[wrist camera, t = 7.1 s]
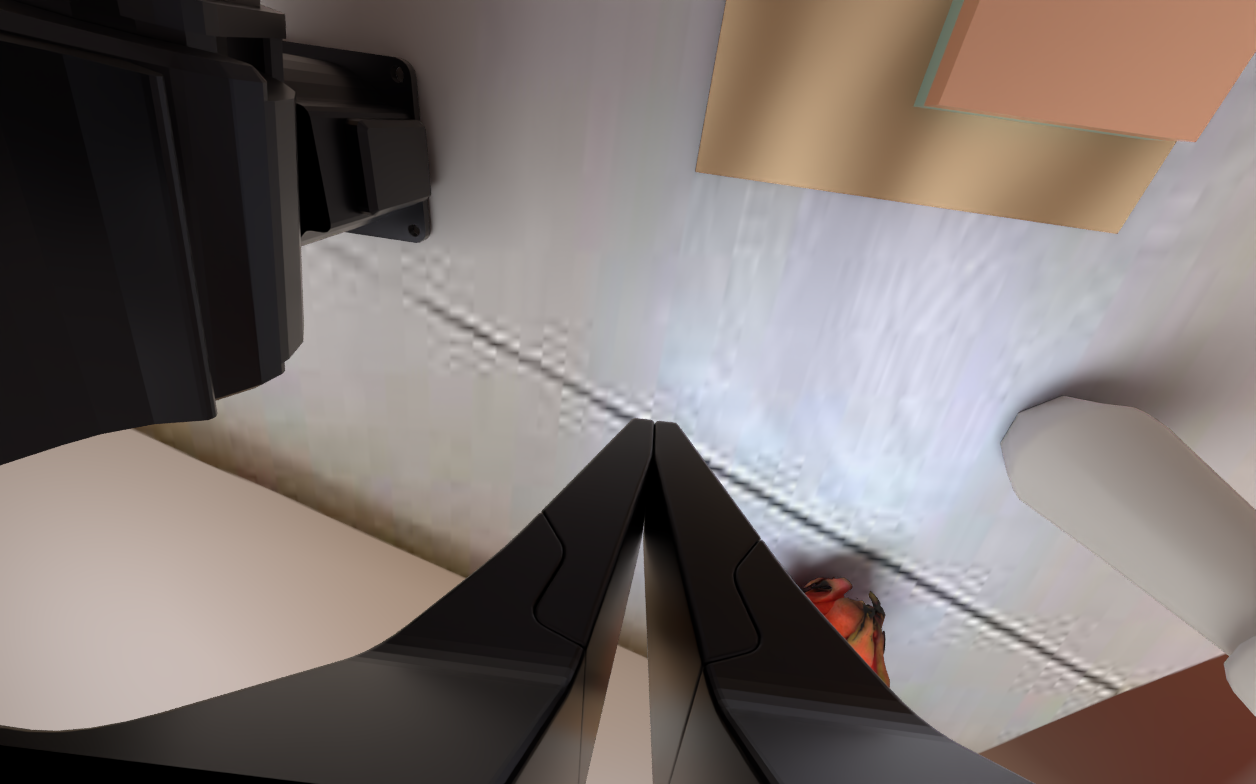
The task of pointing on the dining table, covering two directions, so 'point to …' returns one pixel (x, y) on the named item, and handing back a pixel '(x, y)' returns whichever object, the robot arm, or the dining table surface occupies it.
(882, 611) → the dragon fruit
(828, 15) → the cork mat
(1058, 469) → the salt shaker
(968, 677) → the dining table surface
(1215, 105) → the tile
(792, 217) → the dining table surface
